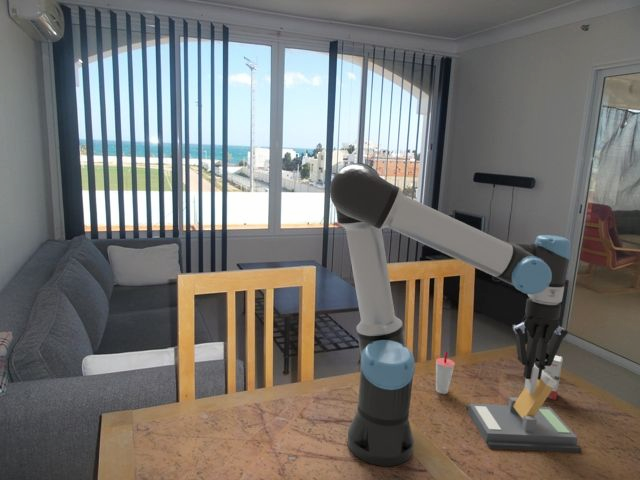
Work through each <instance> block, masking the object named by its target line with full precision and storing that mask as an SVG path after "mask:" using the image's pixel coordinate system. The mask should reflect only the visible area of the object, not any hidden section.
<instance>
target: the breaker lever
mask: <svg viewBox="0 0 640 480" xmlns="http://www.w3.org/2000/svg"><path fill="white" fill-rule="evenodd" d="M556 384H557V382H556V381H555V380H554V379H553V378H551V377H550V376H549V375H548V374H547V373H546V372H545V371H544V370H542V374H541V378H540V379H538V380H537V386H536V392H535V393H529V392H528V391H527V390H526V388H523V389H522V392H521V393H520V395H519V396H518V397H517V398H518V399H517V400H516V402H515V404H514V405H513V407H514V409H515V410H516V412H517V413H518V414H519V416H520V417H521V418H522V419H523V418H524V416H535V415H536V413H537V412H538V410H539V409H540V407H543V404H544V403H545V401H546V399H548V398H547V397H548V395H549V394H550V392H551V391H552V389H553V388H554V387H555V385H556Z"/></svg>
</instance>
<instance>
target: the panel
mask: <svg viewBox="0 0 640 480" xmlns="http://www.w3.org/2000/svg"><path fill="white" fill-rule="evenodd" d="M517 399H518V397H511V396H509V397H508V402H507V403H508V404H489V403H471V402H470V403H468V405H467V406H468V411H467V413H468V415H469V416H470V418H471V420H472V422H473V423H474V425H475V427H476V428H477V430H478V432H479V433H480V436H481V437H482V439H483V440H484V442H485V443H486V444H488V442H509V443H532V444H555V445H577V444H578V436H577V434H575V433H574V432H573V430H572V429H571V428H570V427H569V426H568V425H567V424H566V423H565V422H564V421H563V420H562V419H561V417H560V416H559V415H558V414H557V413H556V412H555V411H554V410H553V408H551V407H550V406H541V407H540V409H539V410H538V412H537V413H536V415H535V416H524V418H523V419H522V418H521V417H520V416H519V414H518V413H517V412H516V410H515V409H514V407H513V405H514V404H515V402H516V400H517Z"/></svg>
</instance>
